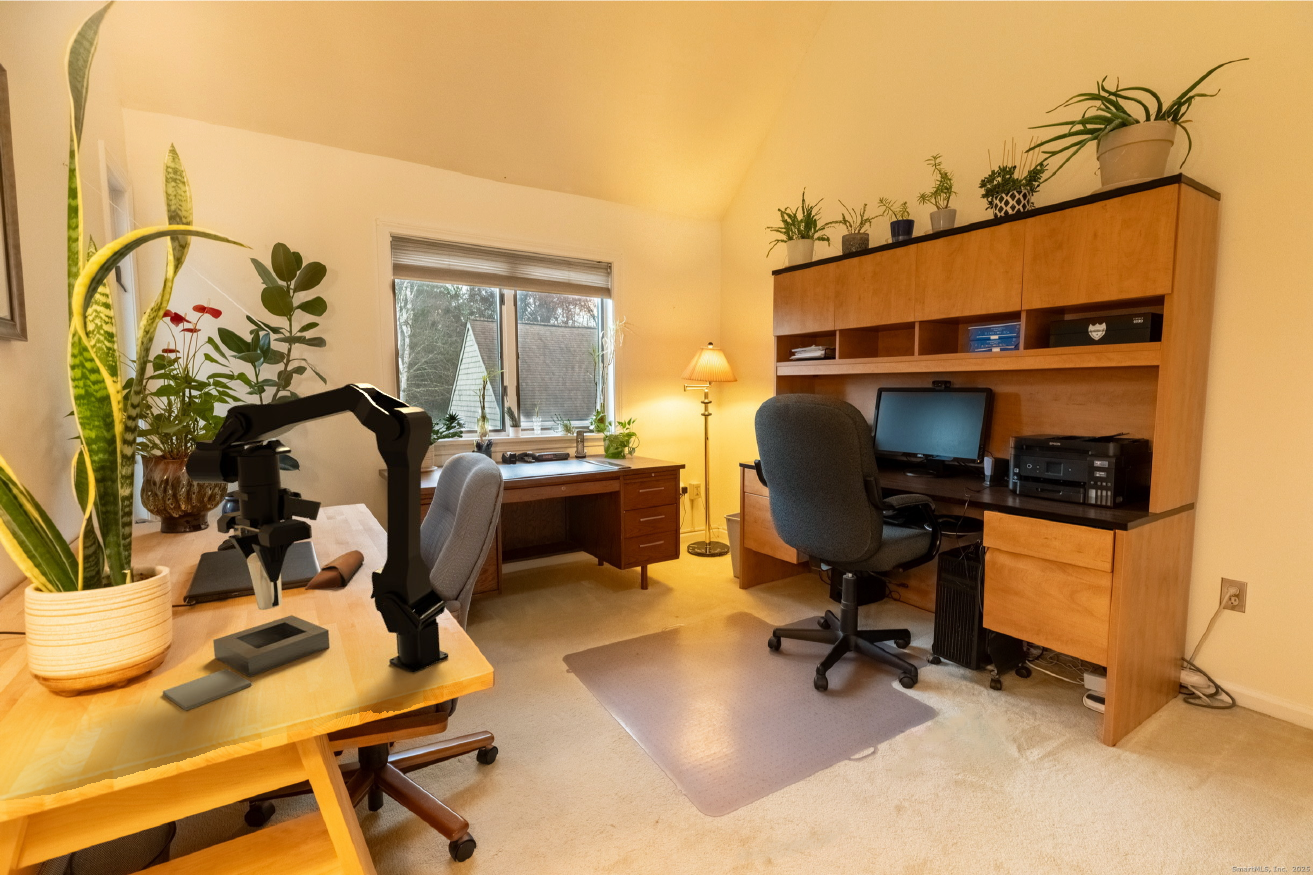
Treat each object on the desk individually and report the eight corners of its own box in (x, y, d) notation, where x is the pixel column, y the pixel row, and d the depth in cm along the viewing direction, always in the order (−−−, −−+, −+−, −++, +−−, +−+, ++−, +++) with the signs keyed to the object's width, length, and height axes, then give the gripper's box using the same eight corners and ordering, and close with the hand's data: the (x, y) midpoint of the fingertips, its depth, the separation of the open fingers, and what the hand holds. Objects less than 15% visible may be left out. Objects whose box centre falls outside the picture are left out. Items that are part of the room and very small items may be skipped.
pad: (251, 685, 89) (251, 682, 89) (185, 710, 82) (185, 707, 82) (227, 671, 93) (226, 668, 93) (163, 694, 87) (162, 690, 87)
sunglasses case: (326, 565, 146) (340, 540, 147) (354, 577, 148) (368, 553, 148) (302, 590, 129) (318, 562, 129) (335, 604, 131) (351, 576, 131)
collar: (329, 647, 101) (328, 629, 101) (249, 677, 91) (247, 658, 91) (293, 631, 108) (291, 615, 108) (214, 657, 98) (213, 639, 98)
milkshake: (275, 611, 96) (267, 548, 95) (246, 611, 97) (238, 549, 96) (297, 601, 100) (289, 541, 100) (269, 601, 101) (261, 542, 101)
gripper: (341, 480, 98) (348, 574, 100) (284, 472, 109) (290, 557, 110) (266, 491, 89) (275, 595, 91) (211, 481, 100) (220, 574, 101)
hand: (267, 579), depth 98 cm, fingers closed on milkshake, 4 cm apart
